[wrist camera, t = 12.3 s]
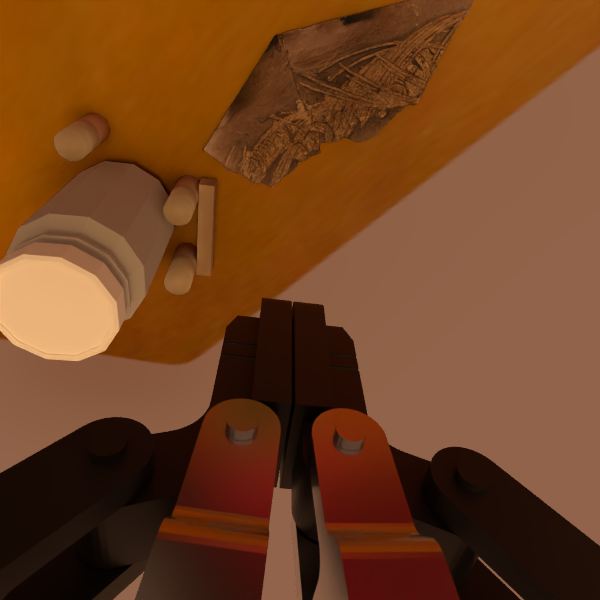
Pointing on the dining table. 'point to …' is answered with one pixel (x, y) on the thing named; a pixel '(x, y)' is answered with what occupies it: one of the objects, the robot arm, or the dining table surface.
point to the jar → (84, 262)
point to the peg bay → (176, 210)
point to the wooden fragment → (332, 85)
